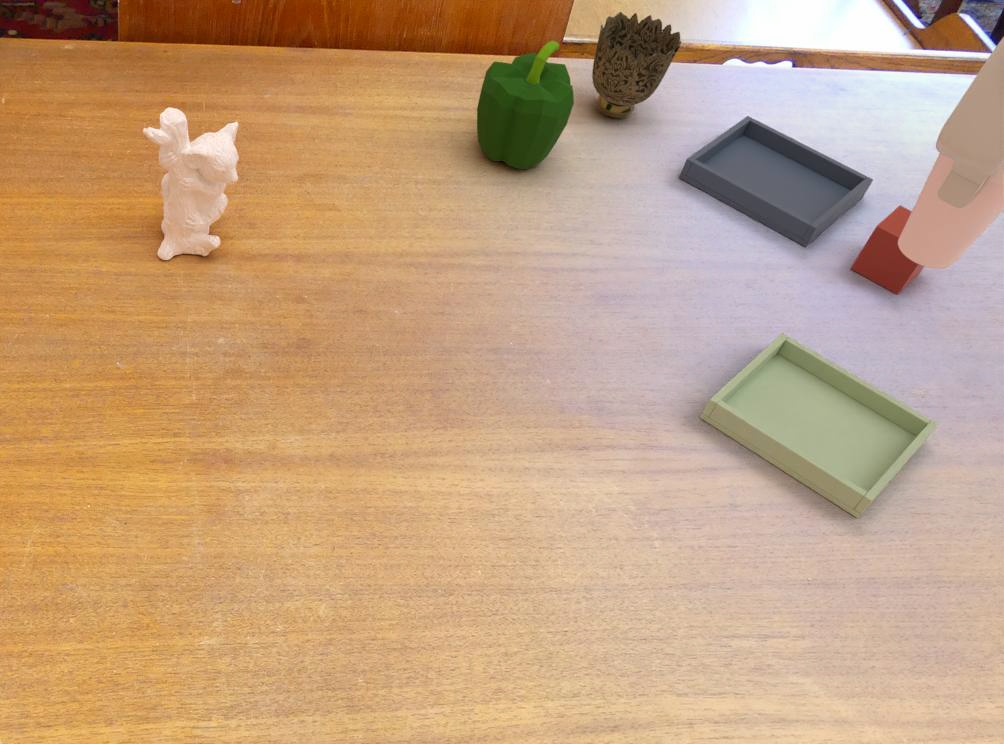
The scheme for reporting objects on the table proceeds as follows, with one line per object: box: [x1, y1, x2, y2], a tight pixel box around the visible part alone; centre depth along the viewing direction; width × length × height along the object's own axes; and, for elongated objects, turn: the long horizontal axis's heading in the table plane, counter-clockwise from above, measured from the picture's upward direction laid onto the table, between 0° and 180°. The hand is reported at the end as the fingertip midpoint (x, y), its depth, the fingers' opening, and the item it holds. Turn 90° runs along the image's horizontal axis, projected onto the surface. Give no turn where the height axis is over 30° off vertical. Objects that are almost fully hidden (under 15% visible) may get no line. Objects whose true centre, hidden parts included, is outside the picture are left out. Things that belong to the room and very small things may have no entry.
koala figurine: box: [142, 107, 240, 261], centre depth 88 cm, size 8×7×12 cm
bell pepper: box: [476, 40, 575, 170], centre depth 100 cm, size 8×8×10 cm
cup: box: [591, 11, 682, 119], centre depth 106 cm, size 8×7×8 cm
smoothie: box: [898, 152, 1004, 270], centre depth 67 cm, size 6×6×14 cm
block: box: [850, 205, 925, 295], centre depth 95 cm, size 4×4×4 cm
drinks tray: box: [699, 332, 939, 519], centre depth 84 cm, size 13×11×2 cm
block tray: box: [678, 115, 874, 248], centre depth 103 cm, size 13×11×2 cm
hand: (979, 174), depth 68 cm, fingers closed on smoothie, 6 cm apart
